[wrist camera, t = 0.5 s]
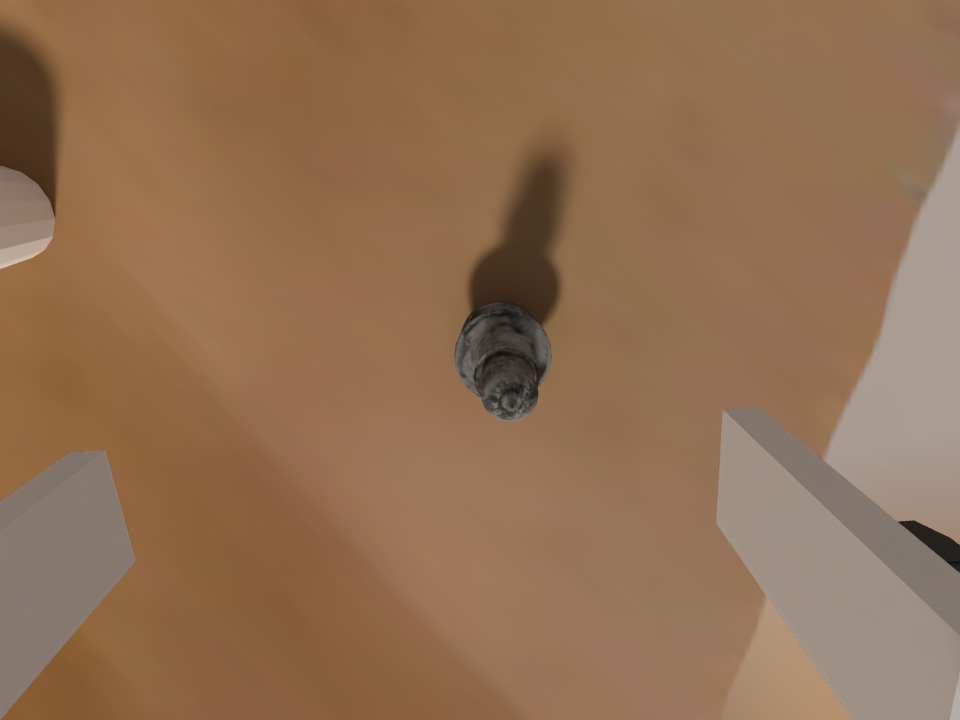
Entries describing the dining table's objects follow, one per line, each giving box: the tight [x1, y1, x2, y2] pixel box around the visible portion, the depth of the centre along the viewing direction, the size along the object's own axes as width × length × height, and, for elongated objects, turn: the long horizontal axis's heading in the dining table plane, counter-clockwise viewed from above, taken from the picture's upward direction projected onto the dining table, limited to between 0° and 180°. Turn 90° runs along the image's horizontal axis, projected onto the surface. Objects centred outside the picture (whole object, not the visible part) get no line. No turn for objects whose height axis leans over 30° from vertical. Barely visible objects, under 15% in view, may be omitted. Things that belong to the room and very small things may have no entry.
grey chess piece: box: [454, 302, 552, 422], centre depth 35 cm, size 6×6×12 cm
